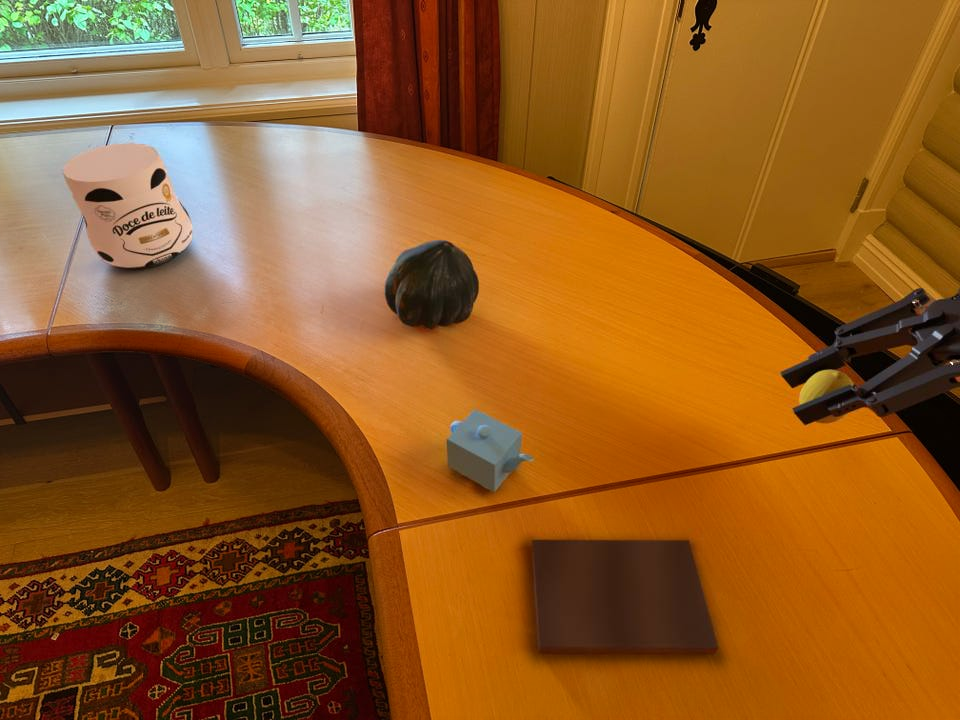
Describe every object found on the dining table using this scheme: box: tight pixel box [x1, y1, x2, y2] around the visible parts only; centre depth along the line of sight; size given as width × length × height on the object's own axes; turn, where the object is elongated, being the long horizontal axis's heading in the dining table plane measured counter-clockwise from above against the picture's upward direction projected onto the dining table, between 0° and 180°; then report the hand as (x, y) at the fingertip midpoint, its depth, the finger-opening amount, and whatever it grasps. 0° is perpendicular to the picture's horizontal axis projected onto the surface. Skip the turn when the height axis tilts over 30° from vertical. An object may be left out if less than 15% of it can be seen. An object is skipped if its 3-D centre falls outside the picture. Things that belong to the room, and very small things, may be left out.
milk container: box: [62, 142, 194, 270], centre depth 110 cm, size 17×17×18 cm
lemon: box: [798, 369, 855, 424], centre depth 72 cm, size 6×6×8 cm
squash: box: [384, 239, 480, 330], centre depth 97 cm, size 14×15×15 cm
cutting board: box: [531, 539, 719, 655], centre depth 65 cm, size 18×12×2 cm, turn 90°
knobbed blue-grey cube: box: [445, 408, 534, 493], centre depth 76 cm, size 12×6×8 cm, turn 56°
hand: (792, 397), depth 73 cm, fingers closed on lemon, 5 cm apart
